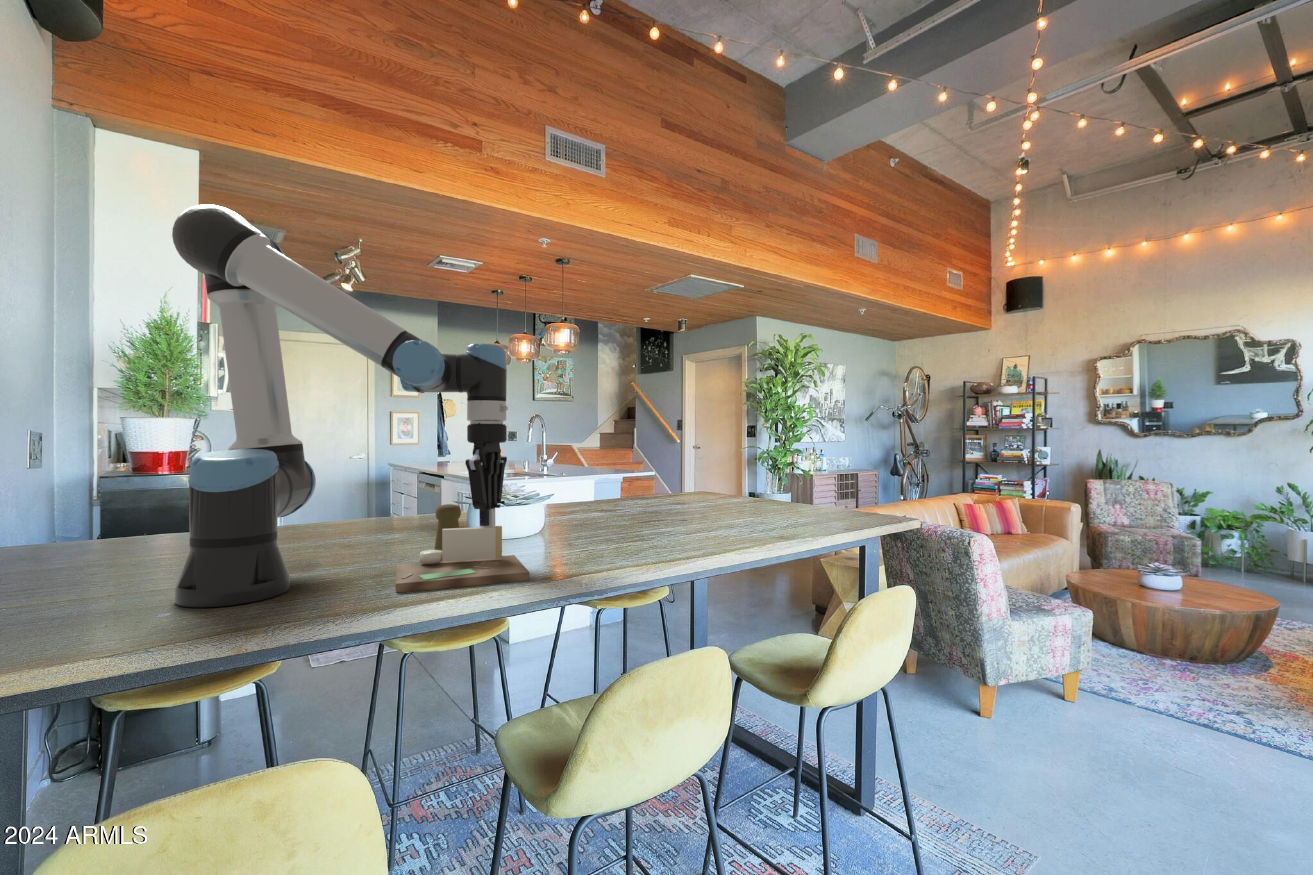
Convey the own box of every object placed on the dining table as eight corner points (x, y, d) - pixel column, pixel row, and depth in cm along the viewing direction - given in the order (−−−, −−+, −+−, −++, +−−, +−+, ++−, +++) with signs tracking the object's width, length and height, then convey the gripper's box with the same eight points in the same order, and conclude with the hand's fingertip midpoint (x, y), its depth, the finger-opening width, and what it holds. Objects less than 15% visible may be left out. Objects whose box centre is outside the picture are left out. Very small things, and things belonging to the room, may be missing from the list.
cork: (453, 558, 124) (453, 506, 124) (427, 557, 125) (427, 505, 125) (468, 553, 130) (468, 503, 130) (443, 551, 131) (443, 502, 131)
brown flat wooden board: (395, 592, 97) (395, 582, 97) (396, 571, 112) (397, 563, 112) (529, 580, 106) (529, 571, 106) (514, 562, 121) (514, 554, 121)
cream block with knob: (419, 564, 109) (419, 531, 109) (420, 559, 113) (420, 528, 113) (502, 559, 114) (502, 527, 114) (501, 555, 118) (501, 524, 118)
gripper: (488, 422, 110) (489, 548, 110) (518, 423, 122) (518, 536, 123) (452, 422, 111) (452, 547, 111) (485, 423, 124) (485, 534, 124)
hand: (487, 541), depth 117 cm, fingers closed
